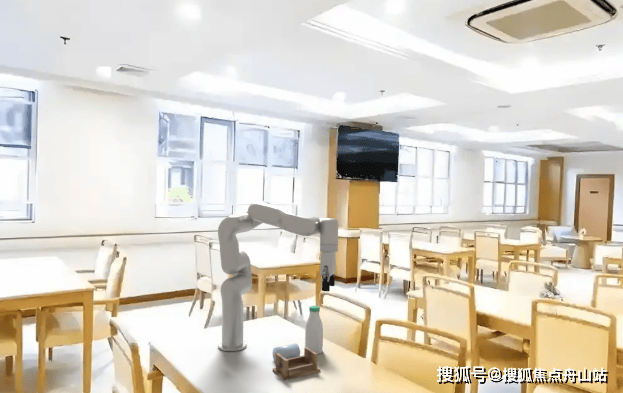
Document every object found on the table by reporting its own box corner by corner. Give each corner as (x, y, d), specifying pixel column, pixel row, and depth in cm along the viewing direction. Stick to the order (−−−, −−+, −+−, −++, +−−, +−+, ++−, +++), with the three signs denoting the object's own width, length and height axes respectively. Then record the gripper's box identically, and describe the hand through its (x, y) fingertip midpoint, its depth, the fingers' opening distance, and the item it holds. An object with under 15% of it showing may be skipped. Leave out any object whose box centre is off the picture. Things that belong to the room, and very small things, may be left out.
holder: (272, 370, 172) (272, 353, 172) (307, 362, 180) (307, 346, 180) (284, 380, 163) (284, 362, 163) (320, 371, 172) (320, 354, 172)
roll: (278, 365, 178) (278, 350, 178) (271, 359, 183) (272, 345, 183) (300, 360, 183) (300, 345, 183) (293, 355, 188) (293, 341, 188)
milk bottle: (320, 355, 188) (321, 309, 188) (303, 353, 190) (304, 308, 189) (323, 349, 196) (324, 305, 195) (307, 347, 197) (307, 303, 197)
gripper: (324, 244, 191) (324, 283, 192) (315, 250, 175) (314, 292, 175) (341, 245, 189) (341, 284, 190) (333, 251, 173) (332, 294, 173)
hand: (328, 288), depth 182 cm, fingers open, 9 cm apart
